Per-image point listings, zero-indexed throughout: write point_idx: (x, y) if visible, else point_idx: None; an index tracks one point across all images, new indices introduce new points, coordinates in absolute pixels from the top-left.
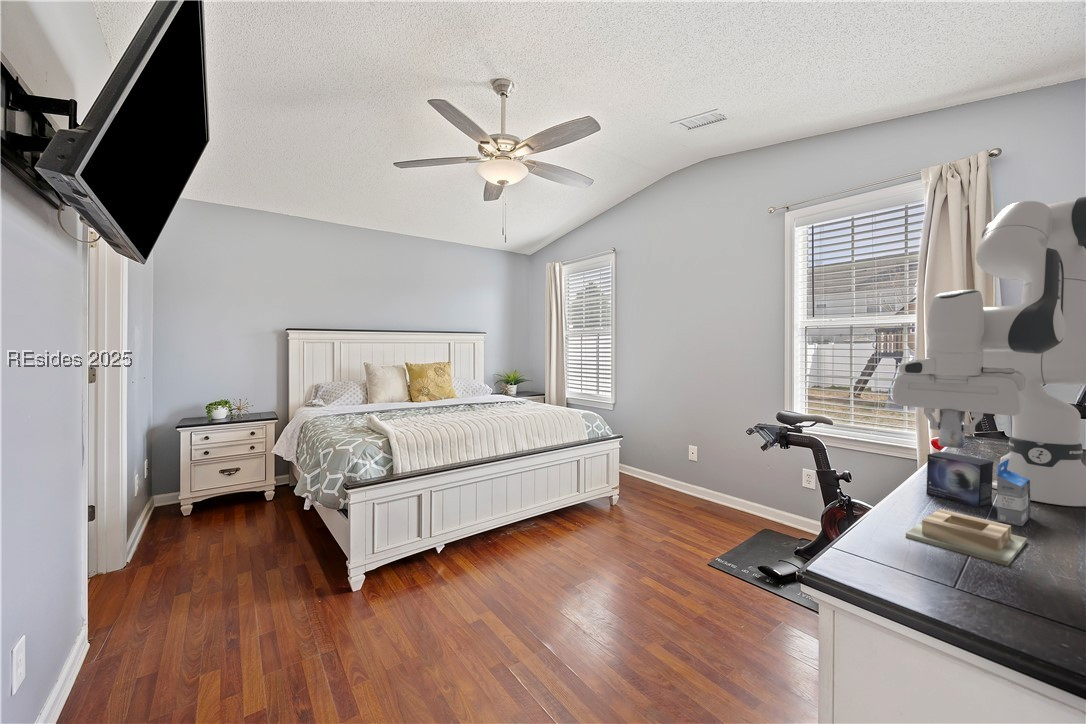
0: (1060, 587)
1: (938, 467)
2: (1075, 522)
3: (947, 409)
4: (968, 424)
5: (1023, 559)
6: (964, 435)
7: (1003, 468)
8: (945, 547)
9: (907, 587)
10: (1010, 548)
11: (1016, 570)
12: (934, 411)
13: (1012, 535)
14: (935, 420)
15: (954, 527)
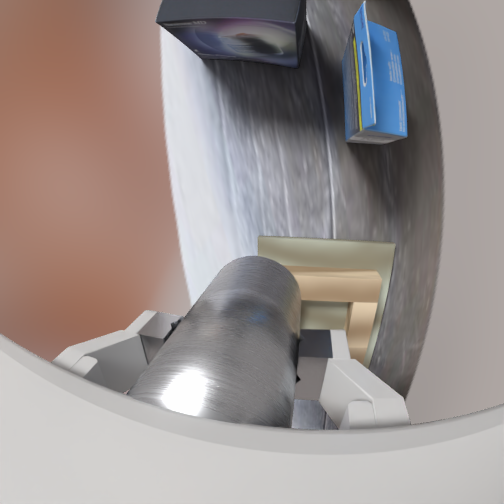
0: (403, 376)
1: (196, 34)
2: (422, 45)
3: None
4: (314, 367)
5: (385, 327)
6: (299, 329)
7: (360, 47)
8: None
9: None
10: (374, 319)
11: (374, 367)
12: (96, 373)
13: (378, 248)
14: (140, 348)
15: None
